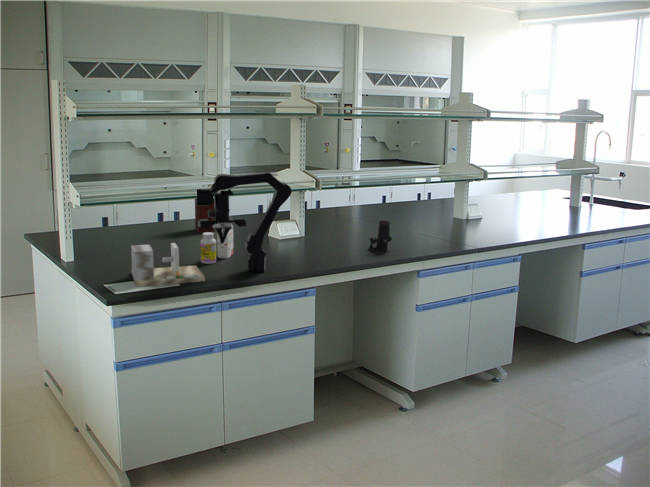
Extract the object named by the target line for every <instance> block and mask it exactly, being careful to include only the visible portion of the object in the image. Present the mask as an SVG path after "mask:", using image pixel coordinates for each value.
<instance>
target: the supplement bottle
mask: <svg viewBox="0 0 650 487" xmlns="http://www.w3.org/2000/svg"><path fill="white" fill-rule="evenodd" d="M214 234H215V232H204V233H202V239H201V240H200V263H201V264H206V265H210V264H211V265H212V264H215V263H216V262H217V239H215V238H214V236H215V235H214Z"/></svg>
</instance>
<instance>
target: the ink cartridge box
mask: <svg viewBox="0 0 650 487" xmlns="http://www.w3.org/2000/svg"><path fill="white" fill-rule="evenodd" d="M233 225H234V224H232V225H231V227H232V229H230V230H229V232H228V234H227V236H226V238H225V241H224V243H223V244H221V242H220V239H219V236H218V233H217V232H216V234H217V235H216V236H217V239H216V242H217V259H218V258H219V259H229V258H231V256H233V255H234V226H233ZM222 230H223V229H222Z"/></svg>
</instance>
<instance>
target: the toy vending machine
mask: <svg viewBox="0 0 650 487" xmlns="http://www.w3.org/2000/svg"><path fill="white" fill-rule="evenodd" d="M214 208H215V197H214V198H213V203H212V204H211V205H210V206H196V199H195V198H194V216H195V217H194V220H195V222H194V223H195V224H194V229H195V231H196V232H197V233H199V234H200V233H201V234H203V233H206V232H211V233H215V232H216V230H215V229H213V228H212V226H213V225H210V227H209V228H200V227H199V226H198V220H199V219H208V220H210V221H215V220H213V218H208V210H213V211H214Z"/></svg>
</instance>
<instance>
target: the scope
mask: <svg viewBox="0 0 650 487" xmlns="http://www.w3.org/2000/svg"><path fill="white" fill-rule="evenodd" d="M378 224H379V225H378V230H377V231H378V233H377V237H375V238H374V237H373V232H370V237H369V243H368V244H369V247H368V248H369V249H370V250H371V251H372V252H375V251H381V252H382V251H383V252H384V251H385V252H386V251H388V245H389V244H388V243H389V242H391V241H392V239H393V238H392V236H390V234H391V233H390V232H391V231H390V229H391V228H390V225H391V221H389V220H379V221H378Z"/></svg>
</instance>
